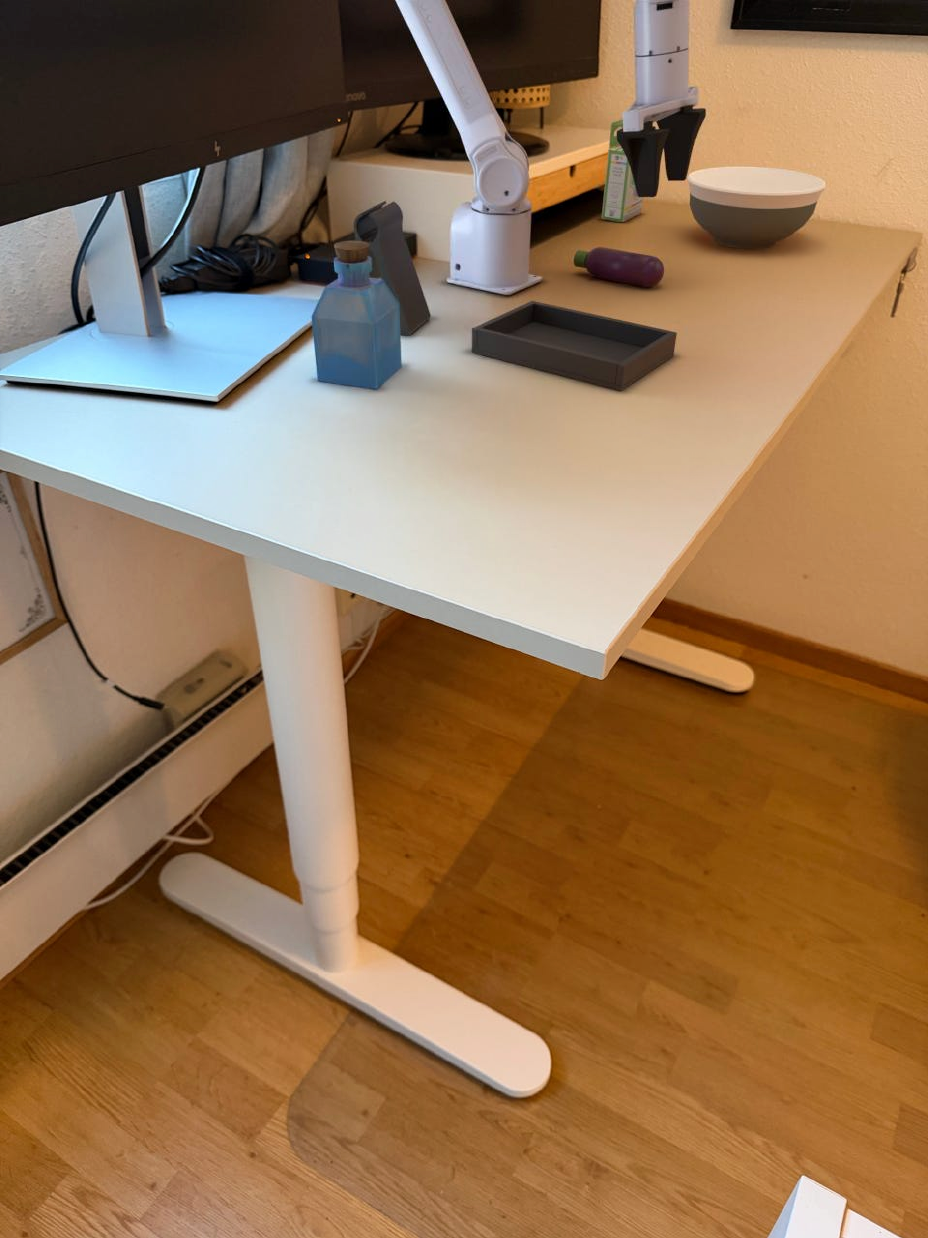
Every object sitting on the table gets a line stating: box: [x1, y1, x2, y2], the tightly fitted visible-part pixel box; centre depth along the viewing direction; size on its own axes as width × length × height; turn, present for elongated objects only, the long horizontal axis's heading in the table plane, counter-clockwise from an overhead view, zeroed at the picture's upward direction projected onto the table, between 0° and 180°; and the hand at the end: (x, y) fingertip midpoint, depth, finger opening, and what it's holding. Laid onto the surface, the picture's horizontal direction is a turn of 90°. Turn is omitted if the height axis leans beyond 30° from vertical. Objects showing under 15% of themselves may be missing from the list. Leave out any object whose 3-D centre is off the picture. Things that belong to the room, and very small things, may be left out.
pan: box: [471, 300, 678, 392], centre depth 91 cm, size 17×11×2 cm, turn 54°
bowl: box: [686, 166, 827, 250], centre depth 127 cm, size 19×19×8 cm
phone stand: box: [353, 200, 432, 336], centre depth 96 cm, size 9×6×12 cm, turn 70°
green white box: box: [601, 118, 643, 223], centre depth 137 cm, size 7×4×13 cm, turn 149°
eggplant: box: [573, 246, 665, 288], centre depth 112 cm, size 12×4×4 cm, turn 54°
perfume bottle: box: [311, 240, 403, 390], centre depth 84 cm, size 6×6×12 cm
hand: (662, 188), depth 104 cm, fingers open, 7 cm apart
